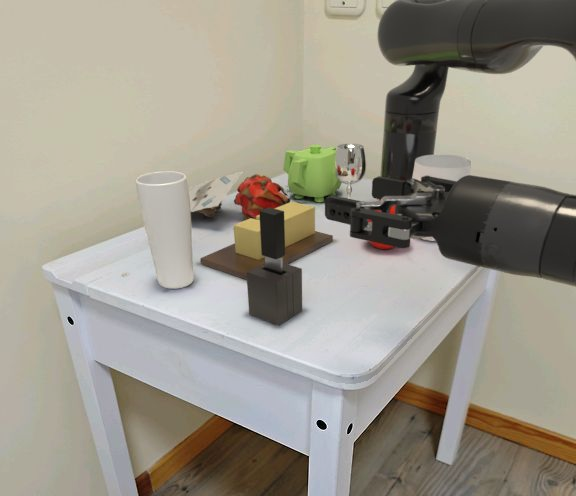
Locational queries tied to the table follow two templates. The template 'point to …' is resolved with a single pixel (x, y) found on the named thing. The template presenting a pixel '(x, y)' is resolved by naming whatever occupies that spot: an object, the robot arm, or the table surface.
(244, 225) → the butter slice
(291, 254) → the butter board
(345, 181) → the wineglass
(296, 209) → the butter block
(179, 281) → the white tall tumbler
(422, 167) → the cup
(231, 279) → the table surface
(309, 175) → the teapot
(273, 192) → the dragon fruit
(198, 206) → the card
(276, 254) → the knife
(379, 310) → the table surface
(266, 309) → the knife block
